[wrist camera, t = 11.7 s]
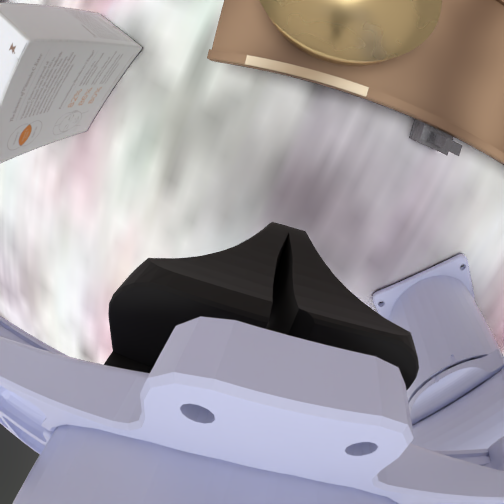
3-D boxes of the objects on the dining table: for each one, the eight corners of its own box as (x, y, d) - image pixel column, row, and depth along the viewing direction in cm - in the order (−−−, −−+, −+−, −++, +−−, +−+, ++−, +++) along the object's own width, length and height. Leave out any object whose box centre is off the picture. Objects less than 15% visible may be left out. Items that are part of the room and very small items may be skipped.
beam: (599, 95, 8) (612, 98, 7) (568, 210, 13) (581, 220, 12) (256, -78, 10) (250, -91, 8) (216, 61, 15) (206, 58, 13)
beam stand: (472, -9, 11) (503, -24, 7) (435, 149, 17) (464, 165, 13) (446, -23, 11) (474, -43, 7) (409, 137, 17) (433, 150, 13)
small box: (100, 12, 16) (-12, -3, 7) (146, 48, 17) (29, 37, 8) (49, 94, 19) (-56, 120, 10) (87, 133, 21) (-22, 175, 11)
